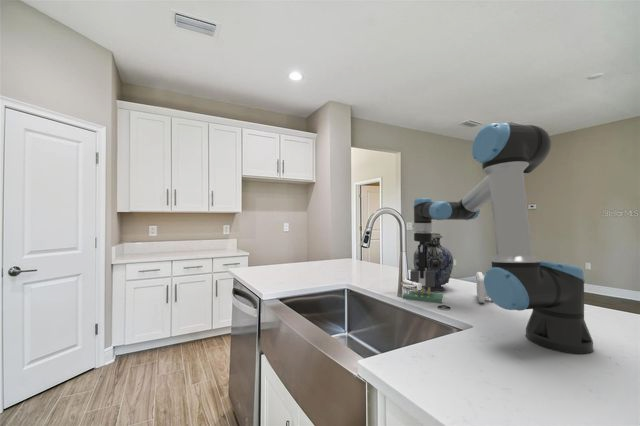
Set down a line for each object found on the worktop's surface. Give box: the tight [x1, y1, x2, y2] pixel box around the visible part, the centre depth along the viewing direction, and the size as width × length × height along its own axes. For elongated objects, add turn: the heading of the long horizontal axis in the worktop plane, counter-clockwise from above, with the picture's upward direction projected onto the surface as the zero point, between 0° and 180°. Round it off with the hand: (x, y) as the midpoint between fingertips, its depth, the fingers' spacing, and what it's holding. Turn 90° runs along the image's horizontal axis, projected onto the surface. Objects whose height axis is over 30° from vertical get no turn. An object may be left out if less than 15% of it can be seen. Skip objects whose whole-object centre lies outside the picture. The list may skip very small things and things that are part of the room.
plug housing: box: [409, 268, 435, 287], centre depth 129 cm, size 10×6×6 cm, turn 65°
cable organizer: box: [475, 271, 490, 304], centre depth 124 cm, size 15×11×12 cm
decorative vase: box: [413, 232, 454, 292], centre depth 145 cm, size 21×19×28 cm
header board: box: [402, 286, 444, 304], centre depth 129 cm, size 10×16×5 cm, turn 65°
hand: (422, 283), depth 129 cm, fingers closed on plug housing, 6 cm apart
